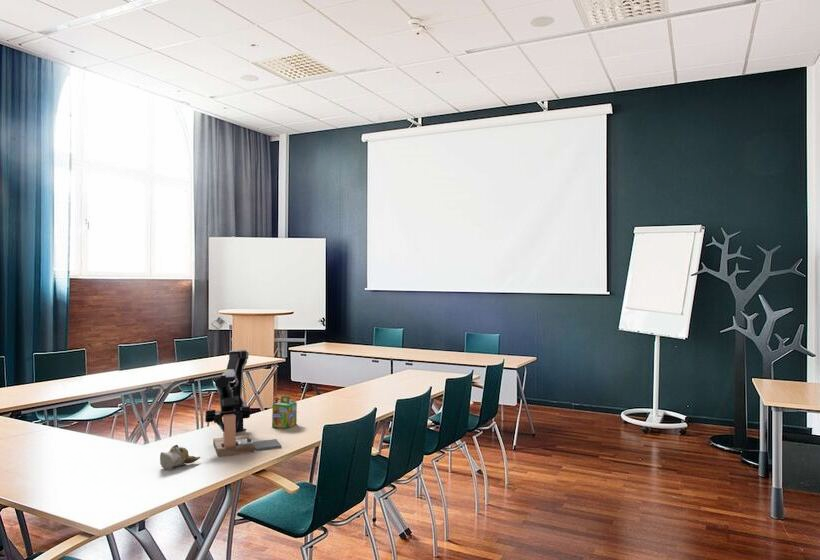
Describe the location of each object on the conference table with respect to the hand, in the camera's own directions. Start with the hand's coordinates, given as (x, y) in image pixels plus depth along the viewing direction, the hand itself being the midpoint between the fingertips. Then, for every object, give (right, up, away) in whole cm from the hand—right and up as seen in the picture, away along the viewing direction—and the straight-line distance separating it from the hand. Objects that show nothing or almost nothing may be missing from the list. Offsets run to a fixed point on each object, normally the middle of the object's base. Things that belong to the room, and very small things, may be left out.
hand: (229, 431), depth 246 cm
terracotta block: (0, -7, +1) cm, 7 cm away
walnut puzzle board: (0, -9, +5) cm, 10 cm away
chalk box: (+14, -9, +42) cm, 45 cm away
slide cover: (+5, -6, +4) cm, 9 cm away
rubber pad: (+14, -9, +8) cm, 18 cm away
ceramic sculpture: (-15, -9, -18) cm, 26 cm away
